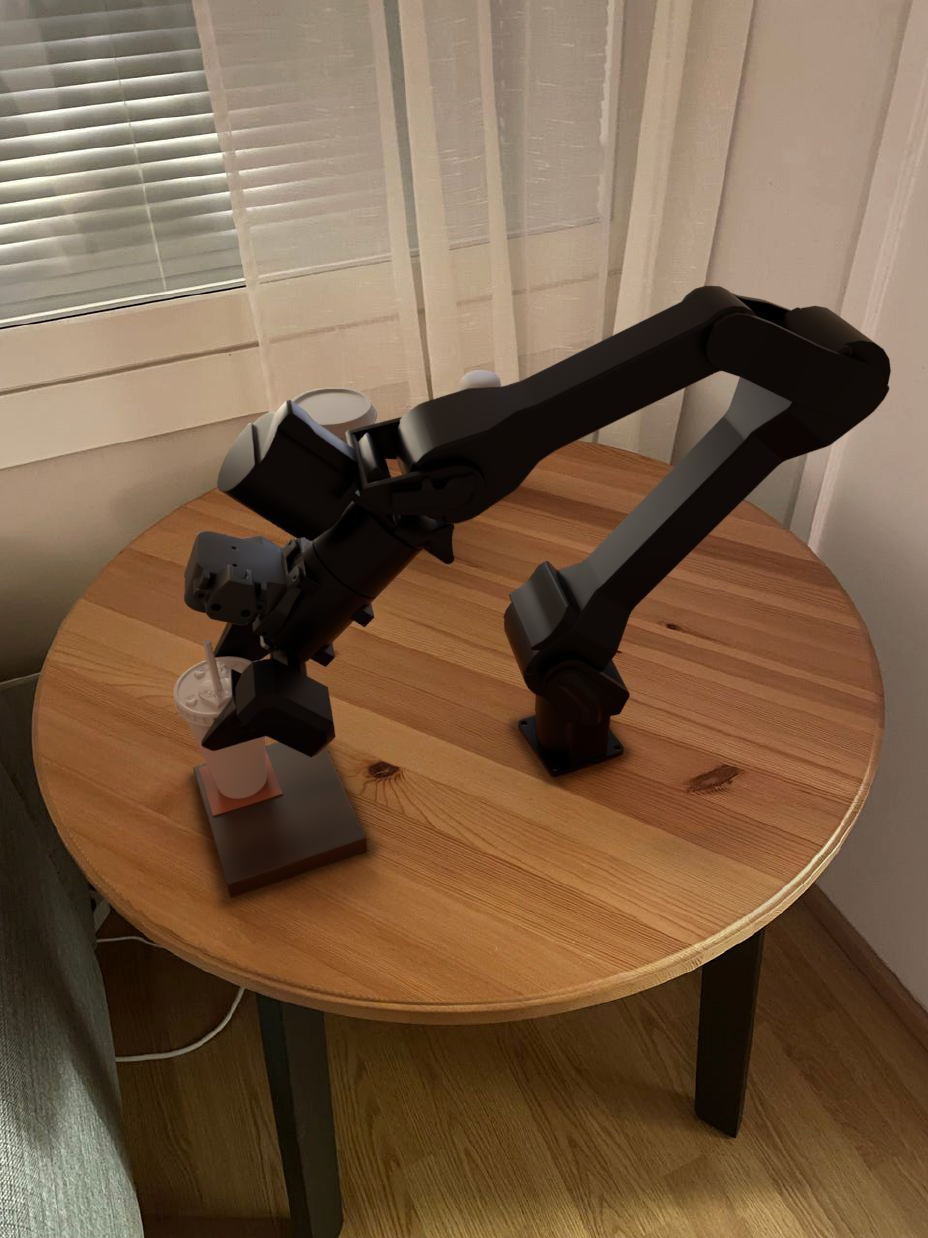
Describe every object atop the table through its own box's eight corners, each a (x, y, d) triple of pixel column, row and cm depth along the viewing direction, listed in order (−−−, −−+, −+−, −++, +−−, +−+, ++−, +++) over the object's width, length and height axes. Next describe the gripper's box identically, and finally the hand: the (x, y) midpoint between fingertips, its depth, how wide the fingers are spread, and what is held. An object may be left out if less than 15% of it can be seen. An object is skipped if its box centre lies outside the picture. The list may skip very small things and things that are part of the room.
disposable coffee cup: (289, 492, 112) (275, 392, 105) (372, 478, 114) (364, 379, 107) (304, 536, 105) (290, 433, 97) (393, 520, 107) (386, 418, 100)
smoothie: (196, 818, 73) (154, 673, 64) (201, 755, 78) (162, 613, 69) (285, 806, 74) (255, 661, 65) (284, 744, 79) (256, 602, 70)
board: (367, 851, 72) (366, 837, 71) (230, 898, 69) (226, 883, 68) (319, 742, 81) (317, 728, 80) (196, 780, 78) (192, 765, 77)
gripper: (240, 433, 69) (112, 585, 74) (252, 590, 54) (93, 766, 60) (363, 515, 75) (237, 651, 80) (404, 677, 60) (247, 829, 66)
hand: (206, 714), depth 71 cm, fingers closed on smoothie, 6 cm apart
